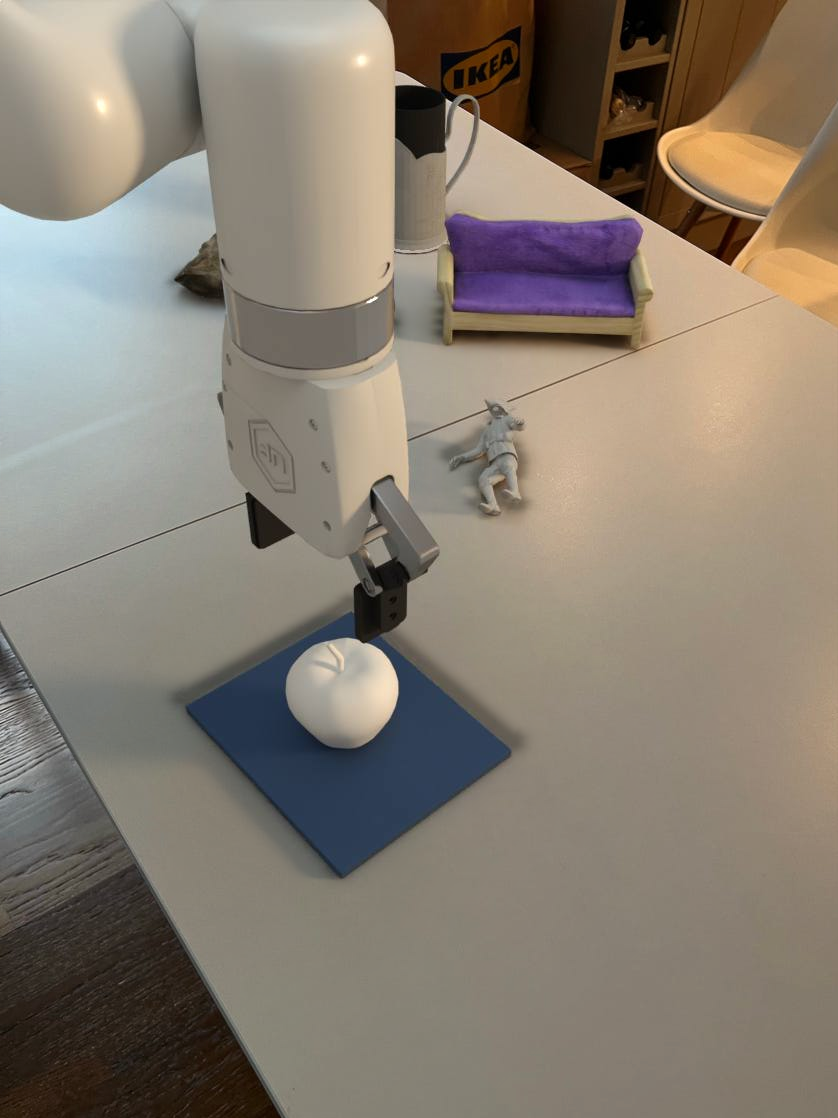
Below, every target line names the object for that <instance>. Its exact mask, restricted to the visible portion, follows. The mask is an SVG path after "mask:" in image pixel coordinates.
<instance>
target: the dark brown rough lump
mask: <svg viewBox="0 0 838 1118" xmlns="http://www.w3.org/2000/svg"><path fill="white" fill-rule="evenodd" d="M173 281H174V282H175V283H178V284H179V285H181V286H182V287H184V288H185V289H186V290H188V291H189V292H191V293H192V294H194V295H196V296H198V297H202V298H204V299H222V298H224V290H223V282H222V274H221V267H220V259H219V251H218V243H217V235H216V232H215V233H213V234H212V235H211V237H210V238H209V239H208V240H206V241H205V242H203V243H201V247H200V248H199V249H198V254H197V255H196V257H194V258H193V259H192V260H190V261H189V262H187V264H186V265H184V267H183V268H182V269H181V270H180V271H179V272H178V274H177V275H176V276H175V277H174V279H173Z"/></svg>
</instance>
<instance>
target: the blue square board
mask: <svg viewBox="0 0 838 1118" xmlns="http://www.w3.org/2000/svg"><path fill="white" fill-rule="evenodd" d="M341 638H352V639H357V638H356V637H355V622H354V611H349V612H347V613H346V614H344V615H342V616H340V617H339V618H337V619H335V620H333V621H331V622H330V623H328V624H326V625H324V626H323V627H321V628H319V629H318V630H316V631H314V632H312V633H311V634H308V635H307V636H306V637H303V638H301V639H300V640H299V641H297V642H295V643H293V644H292V645H289V646H288V647H286V648H284V649H283V650H281V651H279V652H277V653H276V654H274V655H272V656H270V657H268V658H266V660H263V661H262V662H260V663H258V664H257V665H255V666H253V667H251V668H250V669H248V670H246V671H244V672H242V673H241V674H239V675H237V676H235V677H234V678H232V679H230V680H229V681H227V682H225V683H223V684H222V685H220V686H218V687H216V688H214V689H213V690H211V691H209V692H208V693H206V694H204V695H203V696H200V697H199V698H197V699H196V700H193V701H192V702H190V703H188V704H187V705H185V710H186V712H187V714H188V715H189V716H190V717H191V718H192V719H193V720H194V721H195V722H196V724H198V726H199V727H200V728H201V729H202V730H203V731H204V732H205V733H206V734H207V735H208V736H209V737H210V738H211V739H212V741H213V742H214V743H215V744H216V745H217V746H218V747H219V748H220V749H221V750H222V751H223V753H224V754H225V755H226V756H227V757H228V758H229V759H230V760H231V761H232V763H234V764H235V766H237V768H238V769H239V770H240V771H241V772H242V773H243V774H244V775H245V776H246V778H247V779H248V780H250V782H251V783H252V784H253V785H254V786H255V787H256V788H257V789H258V791H260V793H261V794H262V795H263V796H264V797H265V798H266V799H267V800H268V801H269V802H270V803H271V804H272V806H274V807H275V809H276V810H277V811H278V812H279V813H280V814H281V815H282V816H283V817H284V818H285V820H287V822H288V823H289V824H290V825H291V826H292V827H293V828H294V829H295V830H296V832H298V833H299V835H301V837H302V838H303V839H304V840H305V841H306V842H307V843H308V844H309V846H311V847H312V849H313V850H314V851H315V852H316V853H317V854H318V855H319V856H320V857H321V858H322V859H323V860H324V862H325V863H326V864H327V865H328V866H329V867H330V868H331V869H332V870H333V871H334V872H335V873H336V874H337V876H338V877H339V878H341V879H343V878H345V877H346V876H347V875H349V874H350V873H352V872H353V871H354V870H356V869H358V867H360V866H361V865H362V864H364V863H365V862H367V861H368V860H369V859H370V858H372V857H373V856H375V855H376V854H378V853H379V852H381V851H382V850H383V849H385V848H386V847H387V846H389V845H390V844H391V843H393V842H394V841H396V840H397V839H398V838H400V837H402V835H403V834H405V833H406V832H408V831H410V830H411V829H412V828H413V827H415V826H416V825H417V824H419V823H420V822H422V821H423V820H425V818H427V817H428V816H430V815H431V814H432V813H434V812H435V811H437V810H438V809H439V808H440V807H442V806H444V805H445V804H446V803H447V802H449V801H450V800H452V799H453V798H454V797H456V796H457V795H458V794H460V793H461V792H463V791H464V790H465V789H467V788H468V787H469V786H471V785H472V784H473V783H475V782H477V780H479V779H480V778H482V777H483V776H485V775H486V774H487V773H488V772H490V771H491V770H493V769H494V768H496V767H497V766H499V764H501V763H503V762H504V761H505V760H506V759H508V758H509V757H511V755H512V748H510V747H509V746H508V745H507V744H505V743H504V742H503V741H502V740H500V739H499V738H498V737H497V736H496V735H495V734H494V733H493V732H492V731H490V730H489V729H488V728H487V727H486V726H484V725H483V724H482V723H481V722H480V721H479V720H478V719H476V717H474V716H473V715H472V714H471V713H469V712H468V711H467V710H466V709H465V708H464V707H463V706H461V705H460V704H459V703H458V702H457V701H455V699H453V698H452V697H451V696H450V695H449V694H447V693H446V692H445V691H444V690H443V689H442V688H441V687H440V686H438V685H437V683H435V682H434V681H433V680H432V679H430V678H429V677H428V676H427V675H426V674H425V673H424V672H422V670H420V669H419V668H418V667H416V666H415V664H413V663H412V662H411V661H410V660H409V659H407V658H406V657H405V656H404V655H403V654H402V653H400V652H399V651H398V650H397V649H396V648H395V647H394V646H393V645H391V644H390V643H389V642H388V641H386V640H385V639H384V638H383V637H382V636H381V635H379V636H378V637H376V638H374V639H372V640H371V641H369V642H367V643H368V644H371V645H373V646H375V647H376V648H378V649H380V650H381V651H382V652H383V653H384V654H385V655H386V657H387V658H388V659H389V660H390V662H391V664H392V666H393V668H394V670H395V672H396V676H397V679H398V698H397V702H396V706H395V709H394V711H393V713H392V715H391V717H390V719H389V720H388V722H387V723H386V724H385V725H384V726H383V728H382V729H381V730H380V731H379V733H378V734H377V735H376V736H375V737H374V738H373V739H371V740H370V741H369V742H367V743H365V744H364V745H362V746H359V747H356V748H349V749H345V748H333V747H330V746H327V745H325V744H324V743H322V742H320V741H319V740H318V739H317V738H316V737H315V736H314V735H312V734H311V733H310V732H309V731H308V730H307V729H306V728H305V727H304V726H303V725H302V724H301V723H300V722H299V721H298V720H297V719H296V718H295V717H294V715H293V713H292V712H291V710H290V708H289V706H288V702H287V697H286V680H287V676H288V673H289V671H290V669H291V667H292V665H293V664H294V663H295V662H296V660H297V659H298V658H299V657H300V656H301V655H302V654H303V653H304V652H305V651H306V650H308V649H309V648H311V647H312V646H313V645H316V644H319V643H322V642H326V641H331V640H335V639H341ZM357 640H358V639H357Z"/></svg>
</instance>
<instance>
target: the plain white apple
mask: <svg viewBox="0 0 838 1118" xmlns="http://www.w3.org/2000/svg"><path fill="white" fill-rule="evenodd" d="M286 697H287V702H288V706H289V708H290V710H291V712H292V713H293V715H294V717H295V718H296V719H297V720H298V721H299V722H300V723H301V724H302V725H303V726H304V727H305V728H306V729H307V730H308V731H309V732H310V733H311V734H312V735H314V736H315V737H316V738H317V739H318V740H319V741H320V742H322V743H324V744H325V745H327V746H330V747H333V748H345V749H349V748H356V747H359V746H362V745H364V744H365V743H367V742H369V741H370V740H371V739H373V738H374V737H375V736H376V735H377V734H378V733H379V731H380V730H381V729H382V728H383V726H384V725H385V724H386V723H387V722H388V720H389V719H390V717H391V715H392V713H393V711H394V709H395V706H396V702H397V698H398V679H397V676H396V672H395V670H394V668H393V666H392V664H391V662H390V660H389V659H388V658H387V657H386V655H385V654H384V653H383V652H382V651H381V650H380V649H378V648H376V647H375V646H373V645H371V644H368V643H365V644H363V643H361V642H360V641H359V640H357V639H352V638H341V639H335V640H331V641H326V642H322V643H319V644H316V645H313V646H312V647H311V648H309V649H308V650H306V651H305V652H304V653H303V654H302V655H301V656H300V657H299V658H298V659H297V660H296V662H295V663H294V664H293V665H292V667H291V669H290V671H289V673H288V676H287V680H286Z"/></svg>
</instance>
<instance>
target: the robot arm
mask: <svg viewBox="0 0 838 1118" xmlns="http://www.w3.org/2000/svg"><path fill="white" fill-rule="evenodd" d="M395 86H396V57H395V44H394V38H393V34H392V32H391V29H390V26H389V24H388V22H387V20H386V18H385V16H384V15H383V13H382V11H381V10H380V9H379V8H378V7H376V6H375V5H374V4H373V2H371V1H370V0H0V205H2V206H3V207H5V208H7V209H9V210H10V211H13V212H15V213H18V214H21V215H24V216H26V217H29V218H33V219H38V220H41V221H51V222H52V221H54V222H70V221H76V220H80V219H84V218H89V217H90V216H94V215H96V214H98V213H99V212H102V211H103V210H105V209H106V208H108V207H110V206H111V205H113V204H114V203H116V202H118V201H119V200H121V199H122V198H124V197H125V196H127V195H128V194H129V193H131V192H132V191H133V190H135V189H136V188H137V187H139V186H140V185H141V184H143V183H145V182H146V181H147V180H149V179H150V178H151V177H153V176H154V175H156V174H157V173H158V172H160V171H161V170H163V169H164V168H165V167H167V166H168V165H169V164H171V163H173V162H175V161H178V160H181V159H183V158H186V157H189V156H191V155H195V154H198V153H200V152H203V151H205V153H206V154H205V155H206V160H207V169H208V178H209V186H210V192H211V193H210V194H211V202H212V210H213V219H214V227H215V233H216V235H217V243H218V251H219V259H220V267H221V274H222V282H223V290H224V297H223V298H224V305H225V315H224V321H223V322H224V323H223V328H222V329H223V330H222V339H221V340H222V343H221V391H219V392H217V393H216V398H217V402H218V404H219V407H220V410H221V413H222V415H223V420H224V421H223V422H224V431H225V441H226V450H227V457H228V462H229V468H230V470H231V472H232V474H233V476H234V478H235V480H237V482H239V484H240V485H241V486H242V487H243V488H244V489H245V490H246V491H247V492H244V496H245V502H246V510H247V511H246V512H247V519H248V527H249V534H250V543H251V544H252V545H253V546H254V547H255V548H256V549H258V550H264V549H266V548H268V547H271V546H272V545H274V544H277V543H279V542H281V541H282V540H284V539H287V538H289V537H290V536H293V535H295V534H296V535H297V536H298V537H300V538H301V539H302V540H303V541H305V543H307V544H308V545H310V546H311V547H312V548H313V549H315V550H316V551H317V552H319V553H321V554H322V555H324V556H326V557H328V558H332V559H335V560H343V559H345V558H346V557H348V558H349V561H350V563H351V565H352V567H353V570H354V571H355V574H356V576H357V578H358V580H359V583H357V584H355V585H354V587H353V590H352V592H353V613H354V622H355V637H356V638H357V639H358V640H359V641H360V642H361V643H363V644H365V643H367V642H369V641H371V640H372V639H374V638H376V637H378V636H381V635H382V634H386V633H389V632H391V631H392V630H394V629H396V628H397V627H399V626H400V624H402V623H403V622H404V621H405V620H406V618H407V615H408V584H410V583H411V582H413V581H414V580H416V579H418V578H420V577H422V576H423V575H425V574H427V573H428V571H429V569H430V567H431V566H432V565H433V563H434V562H435V561H436V560H437V558H438V557H439V556H440V553H441V552H440V551H441V550H440V546H439V544H438V543H437V541H436V539H435V538H434V536H432V534H431V532H430V531H429V530H428V528H427V527H426V525H425V524H424V523H423V522H422V520H421V518H420V517H419V516H418V514H417V513H416V511H415V510H414V509H413V507H412V506H411V504H410V503H409V490H410V487H409V486H410V467H409V463H410V462H409V443H408V432H407V420H406V410H405V402H404V395H403V388H402V381H401V376H400V369H399V365H398V358H397V354H396V353H395V351H393V349H392V347H393V345H394V340H395V311H394V299H395V252H394V228H395ZM372 515H373V516H374V517H375V520H376V523H374V524H372V525H370V526H369V524H370V521H371V517H372ZM380 538H381V539H382V541H383V544H384V546H385V548H386V550H387V552H388V555H389V557H390V559H389V560H387V561H386V562H384V563H382V564H379V565H378V566H375V564H374V562H373V559H372V557H371V555H370V554H369V551H368V549H367V545H369V544H370V543H373V542H374V541H376V540H378V539H380Z"/></svg>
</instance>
